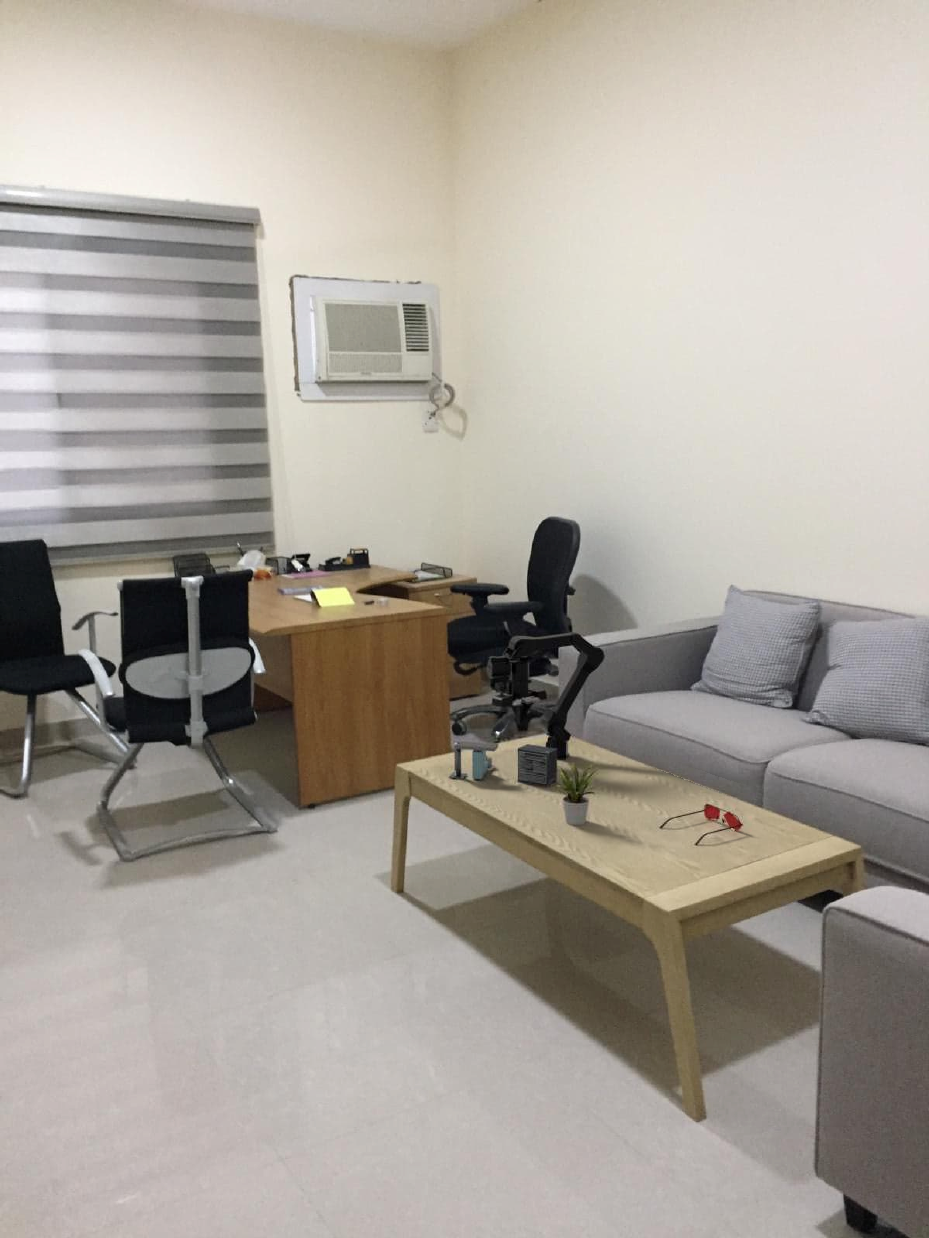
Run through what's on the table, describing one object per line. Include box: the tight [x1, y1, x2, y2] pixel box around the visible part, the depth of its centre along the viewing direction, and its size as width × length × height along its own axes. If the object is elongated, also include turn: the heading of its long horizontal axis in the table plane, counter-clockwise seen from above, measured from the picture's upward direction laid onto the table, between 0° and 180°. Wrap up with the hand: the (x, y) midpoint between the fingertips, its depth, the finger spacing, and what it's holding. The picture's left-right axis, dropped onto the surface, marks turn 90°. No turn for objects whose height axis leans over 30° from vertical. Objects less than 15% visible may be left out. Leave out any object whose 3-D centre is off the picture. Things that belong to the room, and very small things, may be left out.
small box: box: [517, 744, 558, 788], centre depth 301 cm, size 11×6×10 cm, turn 58°
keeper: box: [448, 740, 499, 780], centre depth 305 cm, size 14×5×11 cm, turn 74°
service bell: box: [486, 754, 496, 771], centre depth 316 cm, size 7×7×4 cm
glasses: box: [658, 803, 744, 846], centre depth 261 cm, size 14×16×5 cm
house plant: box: [554, 761, 604, 826], centre depth 267 cm, size 14×14×16 cm
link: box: [471, 750, 493, 780], centre depth 310 cm, size 15×5×8 cm, turn 169°
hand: (519, 723), depth 322 cm, fingers closed
